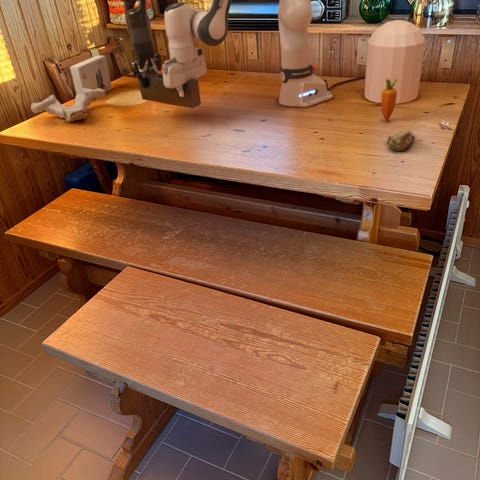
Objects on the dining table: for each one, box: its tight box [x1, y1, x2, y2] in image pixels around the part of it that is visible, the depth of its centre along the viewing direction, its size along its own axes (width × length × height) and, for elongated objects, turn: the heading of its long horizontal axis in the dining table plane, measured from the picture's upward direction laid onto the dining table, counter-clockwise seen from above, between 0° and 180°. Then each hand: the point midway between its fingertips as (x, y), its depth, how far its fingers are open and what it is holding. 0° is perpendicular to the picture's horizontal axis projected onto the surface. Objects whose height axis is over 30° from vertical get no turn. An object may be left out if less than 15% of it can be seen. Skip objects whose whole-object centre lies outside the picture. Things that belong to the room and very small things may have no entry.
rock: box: [387, 129, 416, 152], centre depth 146 cm, size 11×6×10 cm
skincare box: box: [69, 54, 113, 95], centre depth 218 cm, size 21×6×16 cm, turn 158°
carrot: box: [380, 79, 397, 122], centre depth 161 cm, size 5×5×15 cm
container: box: [363, 19, 426, 105], centre depth 179 cm, size 21×21×28 cm
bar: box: [137, 72, 202, 109], centre depth 176 cm, size 27×5×9 cm, turn 54°
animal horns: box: [30, 88, 107, 123], centre depth 195 cm, size 28×26×12 cm
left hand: (150, 85), depth 181 cm, fingers open, 6 cm apart
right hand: (188, 93), depth 171 cm, fingers closed on bar, 5 cm apart
